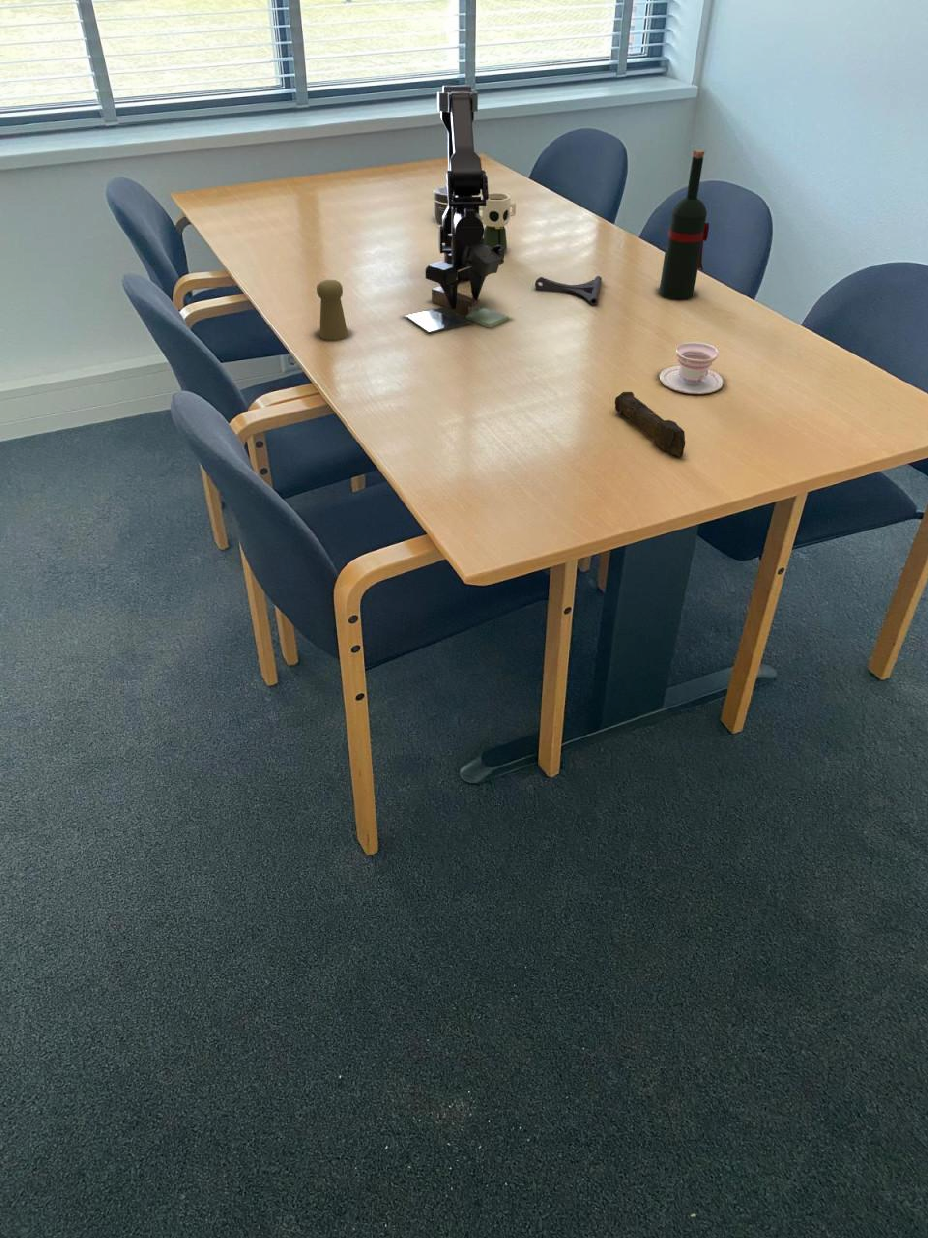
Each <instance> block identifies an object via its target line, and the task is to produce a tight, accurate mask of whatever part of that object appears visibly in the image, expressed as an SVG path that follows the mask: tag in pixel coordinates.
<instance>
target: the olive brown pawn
mask: <svg viewBox="0 0 928 1238" xmlns="http://www.w3.org/2000/svg"><path fill="white" fill-rule="evenodd" d="M343 293H344V287H343V284H342V282H341V281H339V280H336V279H323V280H321V281H320V282H318V284H317V287H316V294H317V296H318V297H319V299H320V305H319V306H320V307H319V328H318V329H319V330H318V331H319V333H318V335H319V338H321V339H322V340H325V341H339V340H343V339H345V338H348V336H349V332H348V326H347V322H346V317H345V312H344V306H343V302H342V297H343Z"/></svg>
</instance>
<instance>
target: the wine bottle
mask: <svg viewBox="0 0 928 1238" xmlns="http://www.w3.org/2000/svg"><path fill="white" fill-rule="evenodd" d="M692 154H693V156H692V160H691V165H690V166H691V167H690V174H689V179H688V186H687V193H686V197H685V198H682V199H681V200H679V201H678V202H676V204H674V206H673V208H672V211H671V214H670V222H669V228H668V233H667V240H666V247H665V253H664V260H663V265H662V272H661V278H660V279H661V280H660V285H659V291H658V294H659V295H660V296H661V297H663V298H666V299H668V300H674V301H686V300H689V299H692V298H693V297H694V293H695V288H696V287H695V286H696V281H697V275H698V270H699V269H701V271H702V272H704V269H703V263H702V261H703V259H702V258H703V249H704V242H706V241H707V239H708V236H709V230H710V223H709V222H707V221H706V220H707V214H708V211H707V207H706V205H705V204H704V202H702V201H701V200H700V199H698V192H699V187H700V180H701V176H702V175H701V174H702V168H703V163H704V155H705V150H702V149H694V150H693V153H692Z"/></svg>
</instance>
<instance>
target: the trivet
mask: <svg viewBox="0 0 928 1238" xmlns="http://www.w3.org/2000/svg"><path fill="white" fill-rule="evenodd" d="M405 319H406V320H408V321H410V322H411V323H412V324H414V325H416V326H417V327H418V328H420V329H421V330H422V331H424V332H425V333H427V334H434V333H439V332H443V331H446V330H447V331H448V330H451V329H456V328H460V327H465V326H468V325H470V321H469V320H468V319H466V318H465V317H462V316H461V315H459V314H457V313H456V312H454V310H452V309H450V308H447V307H444V306H442V307H438V308H434V309H430V310H424V311H420V312H416V313H412V314H408V315H405Z"/></svg>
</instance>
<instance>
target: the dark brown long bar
mask: <svg viewBox="0 0 928 1238" xmlns="http://www.w3.org/2000/svg"><path fill="white" fill-rule="evenodd" d="M614 410H615V411H616V412H617V413H619V414H620V416H623V415H624V416H626V417H627V418H628V419H629V420H631V421H632V422H633V423H634V424H636V426H637V427H639V428H640V429H642V430H643V431H645V432H646V433H647V434H648V435H649V436H651V437H652V438H653V439H654V440H655V442H656V445H657V447H658V448H660V449H662V450H663V451H665V452H668V453H669V454H671V455H674V456H676V457H678V458H682V457H683V455H684V452H685V448H686V434H685V430H684V429H683V428H682V427H680V425H678V423H677V422H676V421H674V420H670V419H664V418H662V417H661V416H660V415H659V414H657V413H656V412H655V411H654V410H652V409H651V408H650V407H648V406H647V405H646V403H645V404H644V403H643V402H642V401H640V400H639V398H638V397H636V396H635V394H634V392H633V391H623V392H621V393H620V394H619V395H617V396H616V397H615V399H614Z"/></svg>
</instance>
